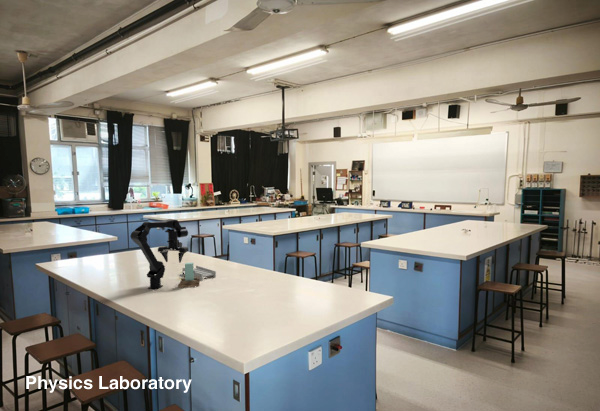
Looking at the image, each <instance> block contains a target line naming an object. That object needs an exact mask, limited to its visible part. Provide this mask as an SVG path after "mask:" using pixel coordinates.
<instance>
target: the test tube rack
mask: <svg viewBox="0 0 600 411" xmlns="http://www.w3.org/2000/svg"><path fill="white" fill-rule="evenodd" d="M183 271H185V267H182V272H183ZM194 271H195V273H194V278H195V277H197V276H199V281H201V280H202V281H203V278H204V277H212V276H213V278H216V277H217V271H216V270H213V269H209V268H206V267H203V266H199V265H195V268H194Z"/></svg>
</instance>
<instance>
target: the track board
mask: <svg viewBox="0 0 600 411" xmlns="http://www.w3.org/2000/svg"><path fill="white" fill-rule="evenodd" d="M200 281H201V280H199V276H197V277H195V278H194V280H189V281H185V277H182V278H181V279H180V281H179V284H178V288H179V289H181V287H182V288H192V287H193V286H196V287H200ZM193 288H194V287H193Z"/></svg>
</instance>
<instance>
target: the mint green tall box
mask: <svg viewBox="0 0 600 411" xmlns="http://www.w3.org/2000/svg"><path fill="white" fill-rule="evenodd" d="M194 266H195V265H194V262H185V263H184V268H185V275H184V278H185V281H189V280H194V273H195V271H194V269H195V268H194Z"/></svg>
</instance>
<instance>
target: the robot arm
mask: <svg viewBox="0 0 600 411" xmlns="http://www.w3.org/2000/svg"><path fill="white" fill-rule="evenodd" d="M158 228H159V229H162V228H166V230H165V233H167V239H168V240H167V243H168V244H167V245H161V246H158V248H157V252H158V253H159V254H161V255H162V257H163V259H164V261H165V262H166V263H168V260H169V259H168V256H169V255H168V254H169V252H170V251H172V252H173V251H174V252H175V251H176V252H178V253H177V254H178V263H179V264H181V263H182V259H183V257H184V254H185V253H188V252H189V247H188V246H183V242H180V240H179V238H185V237H187V236H188V235H189V231H188V229H187V228H186V226H182V225H181V224H180V222H179V220H178V219H171V218H170V219H165V220H163V221H143V223H142V224H141V225H139V226H138V227H137V228H135V229H134V230H133V231H132V232H131V233H130V239H131V240H132V242H133V243H135V244H136V245H137V246H139V249H140V250H141V251H142V253H143V255H144V257H145V259H146V260H147V262H148V263H149V267H148V268H149V271H148V272H147V274H146V277H147V278H148V279H149V286H148V287H147V289H149V290H150V289H151V290H158V289H160V288H162V287H164V285H162V284H161V283H162V280H161V279H163V278H164V275H165V271H166V268H165V267H166V265H164V263H163V261H161V260H158V259H157V258H156V256H155V254H154V252H153V251H152V249H151V247H150V246H149V244H148V235H149V234H150V231H151V229H158Z"/></svg>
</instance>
